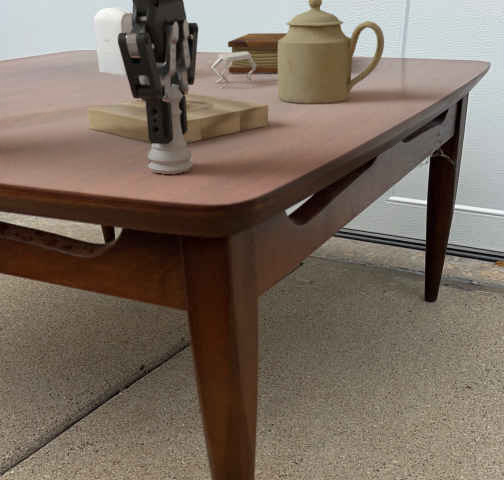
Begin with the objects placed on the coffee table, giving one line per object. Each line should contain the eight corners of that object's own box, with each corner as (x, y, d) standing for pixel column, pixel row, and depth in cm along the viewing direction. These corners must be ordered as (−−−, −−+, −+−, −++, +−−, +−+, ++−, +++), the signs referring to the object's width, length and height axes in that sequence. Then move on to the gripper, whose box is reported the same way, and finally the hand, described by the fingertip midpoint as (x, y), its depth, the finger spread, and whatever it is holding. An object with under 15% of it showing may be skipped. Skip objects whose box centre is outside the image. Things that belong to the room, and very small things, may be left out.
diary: (325, 73, 130) (326, 41, 128) (228, 73, 133) (227, 42, 131) (333, 59, 151) (334, 31, 148) (249, 60, 154) (249, 32, 151)
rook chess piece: (142, 175, 66) (135, 89, 63) (155, 163, 70) (148, 82, 67) (187, 176, 66) (182, 89, 62) (197, 164, 70) (193, 82, 66)
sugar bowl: (367, 90, 111) (372, -12, 104) (382, 102, 101) (389, -10, 94) (274, 93, 110) (274, -10, 104) (281, 105, 100) (281, -8, 94)
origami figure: (212, 79, 126) (211, 51, 124) (258, 79, 125) (258, 50, 123) (205, 89, 115) (203, 58, 113) (255, 89, 115) (254, 58, 113)
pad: (168, 147, 77) (166, 124, 76) (89, 128, 87) (87, 108, 86) (268, 125, 87) (268, 105, 86) (187, 110, 97) (186, 92, 96)
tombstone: (95, 76, 134) (88, 7, 128) (114, 73, 136) (108, 6, 131) (126, 80, 127) (119, 8, 121) (145, 78, 129) (139, 7, 124)
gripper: (146, -58, 66) (160, 123, 74) (75, -65, 54) (100, 153, 61) (221, -61, 64) (227, 125, 72) (164, -68, 52) (179, 157, 59)
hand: (168, 137), depth 67 cm, fingers closed on rook chess piece, 3 cm apart
